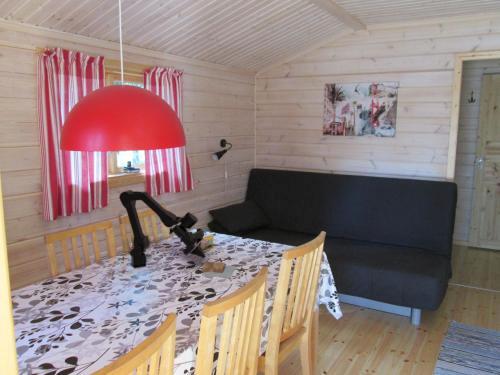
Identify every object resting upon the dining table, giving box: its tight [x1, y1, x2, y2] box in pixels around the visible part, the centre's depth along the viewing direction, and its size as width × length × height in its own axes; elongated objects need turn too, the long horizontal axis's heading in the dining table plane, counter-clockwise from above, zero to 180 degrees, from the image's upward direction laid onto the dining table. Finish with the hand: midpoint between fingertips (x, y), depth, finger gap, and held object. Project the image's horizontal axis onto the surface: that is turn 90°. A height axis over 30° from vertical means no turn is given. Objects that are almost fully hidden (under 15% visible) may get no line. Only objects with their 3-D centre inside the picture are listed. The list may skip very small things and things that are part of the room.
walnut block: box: [201, 261, 226, 273], centre depth 216 cm, size 3×7×10 cm
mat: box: [201, 264, 237, 278], centre depth 216 cm, size 14×16×1 cm
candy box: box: [199, 234, 214, 252], centre depth 248 cm, size 16×2×8 cm, turn 143°
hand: (204, 257), depth 216 cm, fingers closed
